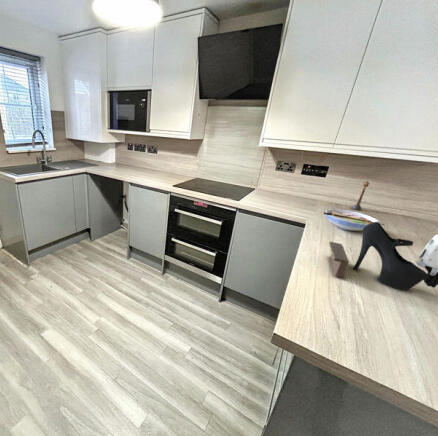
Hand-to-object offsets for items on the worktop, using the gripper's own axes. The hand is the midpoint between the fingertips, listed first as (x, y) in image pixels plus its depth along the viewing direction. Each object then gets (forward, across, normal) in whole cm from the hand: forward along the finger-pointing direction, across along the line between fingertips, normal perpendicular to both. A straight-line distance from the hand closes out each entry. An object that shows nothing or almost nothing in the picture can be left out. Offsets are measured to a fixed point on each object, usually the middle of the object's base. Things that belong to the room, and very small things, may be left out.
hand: (429, 284), depth 78 cm
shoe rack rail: (+3, -25, 0) cm, 25 cm away
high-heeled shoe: (+3, -12, 0) cm, 12 cm away
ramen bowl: (+3, -14, +55) cm, 57 cm away
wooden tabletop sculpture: (+3, -1, +106) cm, 106 cm away
